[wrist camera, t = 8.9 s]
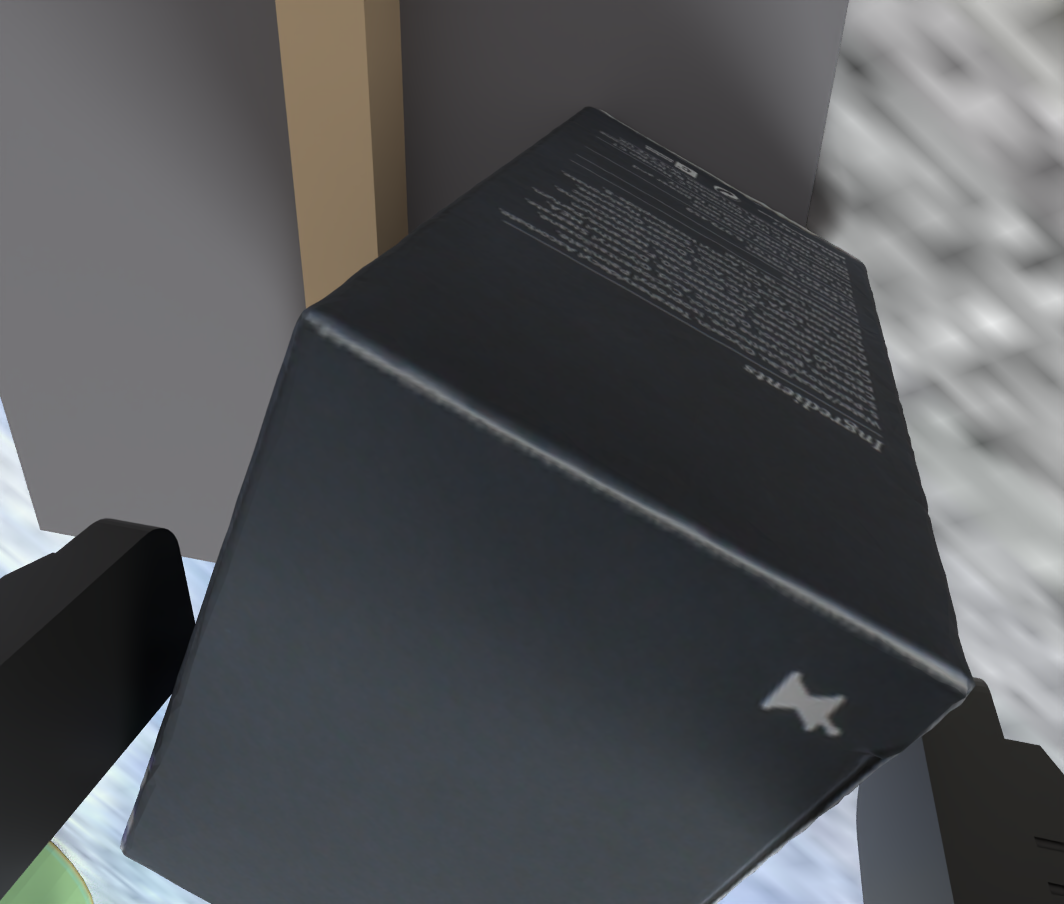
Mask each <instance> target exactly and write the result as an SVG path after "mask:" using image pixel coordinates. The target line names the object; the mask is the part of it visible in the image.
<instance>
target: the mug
mask: <svg viewBox="0 0 1064 904" xmlns="http://www.w3.org/2000/svg"><path fill="white" fill-rule="evenodd" d="M0 904H93V900H92V897H91V894H90V892H89V890H88V888H87V886H86V884H85V882H84V880H83V879H82V877H81V876H80V874H79V873H78V872H77V870H76V869H75V867H74V866H73V865H72V863H71V862H70V861H69V860H68V859H67V858H66V857H65V855H64V854H63V853H62V852H61V851H60V850H59V849H58V848H57V847H56V846H55V845H54V844H53V843H52V842H51V841H49V843H48V844H47V845H46V846H45V847H44V849H43V850H42V851H41V852H40V853H39V855H38V856H37V857H36V858H35V859H34V861H33V862H32V863H31V864H30V866H29V867H28V868H27V869H26V870H25V872H24V873H23V874H22V875H21V876H20V878H19V879H18V880H17V881H16V882H15V884H14V885H13V886H12V887H11V888H10V890H9V891H8V892H7V893H6V894H5V896H4V897H3V898H2V899H1V901H0Z"/></svg>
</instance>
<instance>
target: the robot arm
mask: <svg viewBox="0 0 1064 904" xmlns="http://www.w3.org/2000/svg"><path fill="white" fill-rule="evenodd" d="M194 627H195V620H194V615H193V610H192V605H191V600H190V596H189V591H188V586H187V581H186V576H185V571H184V566H183V562H182V557H181V552H180V547H179V544H178V541H177V538H176V536H175V535H174V534H173V533H172V532H171V531H170V530H168V529H165V528H161V527H155V526H150V525H144V524H139V523H133V522H128V521H122V520H117V519H111V518H104V519H100V520H98V521H96V522H94V523H93V524H91V525H90V526H88V527H87V528H86V529H85V530H84V531H82V532H81V533H80V534H79V535H77V536H76V537H75V538H74V539H72V540H71V541H70V542H69V543H68V544H66V545H65V546H64V547H63V548H61V549H60V550H59V551H58V552H56V553H51V554H49V555H47V556H44V557H42V558H40V559H38V560H36V561H34V562H32V563H30V564H28V565H26V566H24V567H22V568H19V569H17V570H15V571H13V572H11V573H9V574H7V575H5V576H3V577H2V578H1V579H0V901H1V899H2V898H3V897H4V896H5V894H6V893H7V892H8V891H9V890H10V888H11V887H12V886H13V885H14V884H15V882H16V881H17V880H18V879H19V878H20V876H21V875H22V874H23V873H24V872H25V870H26V869H27V868H28V867H29V866H30V864H31V863H32V862H33V861H34V859H35V858H36V857H37V856H38V855H39V853H40V852H41V851H42V850H43V849H44V847H45V846H46V845H47V844H48V843H49V841H50V840H51V839H52V838H53V837H54V835H55V834H56V833H57V832H58V831H59V829H60V828H61V827H62V826H63V825H64V823H65V822H66V821H67V820H68V818H69V817H70V816H71V815H72V814H73V812H74V811H75V810H76V809H77V808H78V806H79V805H80V804H81V803H82V802H83V800H84V799H85V798H86V797H87V796H88V794H89V793H90V792H91V791H92V790H93V788H94V787H95V786H96V785H97V784H98V782H99V781H100V780H101V779H102V777H103V776H104V775H105V774H106V773H107V771H108V770H109V769H110V768H111V767H112V765H113V764H114V763H115V762H116V761H117V759H118V758H119V757H120V756H121V755H122V753H123V752H124V751H125V750H126V749H127V747H128V746H129V745H130V744H131V743H132V741H133V740H134V739H135V738H136V736H137V735H138V734H139V733H140V732H141V730H142V729H143V728H144V727H145V726H146V724H147V723H148V722H149V721H150V720H151V718H152V717H153V716H154V715H155V714H156V712H157V711H158V710H159V709H160V708H161V706H162V705H163V704H164V703H165V702H166V700H167V699H168V698H169V697H170V695H171V694H172V692H173V689H174V686H175V683H176V679H177V676H178V673H179V671H180V668H181V665H182V662H183V659H184V656H185V654H186V651H187V648H188V644H189V641H190V639H191V636H192V633H193V630H194ZM973 680H974V682H975V685H976V686H975V687H974V688H973V690H972V691H971V692H970V693H969V695H968V696H967V697H966V699H965V700H964V701H963V703H962V704H961V705H960V706H958V707H957V708H955V709H953V710H952V711H950V712H949V713H948V714H947V715H946V716H945V717H944V718H943V719H942V720H941V721H940V722H939V723H938V724H937V725H936V726H935V727H934V728H933V729H931V730H930V731H928V732H927V733H925V734H924V735H923V736H921V737H920V738H918V739H917V740H916V741H915V742H913V743H912V744H911V745H910V746H909V747H907V748H906V749H905V750H904V751H902V752H901V753H900V754H898V755H897V756H895V757H894V758H892V759H891V760H890V761H888V762H887V763H885V764H884V765H882V766H881V767H879V768H878V769H877V770H876V771H875V772H873V773H872V774H871V775H870V776H869V777H867V778H866V779H865V780H864V781H863V782H861V783H860V784H859V790H858V798H857V815H856V825H857V840H858V851H859V861H860V871H861V881H862V891H863V901H864V904H1064V774H1063V773H1062V772H1061V771H1060V769H1059V768H1058V767H1057V766H1056V765H1055V763H1054V762H1053V761H1052V760H1051V758H1050V757H1049V756H1048V755H1047V754H1046V752H1045V751H1044V750H1043V749H1042V748H1041V746H1039V745H1034V744H1029V743H1024V742H1019V741H1013V740H1008V739H1004V736H1003V733H1002V729H1001V726H1000V723H999V719H998V716H997V713H996V709H995V706H994V703H993V699H992V696H991V693H990V690H989V688H988V686H987V684H986V683H985V682H984V681H983V680H982V679H980V678H974V677H973Z"/></svg>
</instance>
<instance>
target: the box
mask: <svg viewBox="0 0 1064 904" xmlns="http://www.w3.org/2000/svg"><path fill="white" fill-rule="evenodd" d="M975 686H976V685H975V682H974V680H973V677H972V675H971V672H970V669H969V667H968V664H967V662H966V659H965V656H964V653H963V649H962V646H961V643H960V639H959V636H958V628H957V621H956V615H955V612H954V608H953V604H952V600H951V596H950V592H949V588H948V583H947V578H946V574H945V571H944V569H943V566H942V563H941V559H940V556H939V552H938V549H937V545H936V542H935V538H934V534H933V530H932V524H931V520H930V517H929V515H928V505H927V500H926V496H925V494H924V491H923V488H922V486H921V480H920V476H919V472H918V469H917V466H916V462H915V456H914V451H913V449H912V446H911V440H910V436H909V434H908V430H907V425H906V421H905V418H904V415H903V408H902V405H901V403H900V401H899V395H898V391H897V388H896V384H895V380H894V376H893V372H892V368H891V363H890V360H889V357H888V352H887V347H886V345H885V340H884V337H883V333H882V329H881V326H880V322H879V318H878V315H877V312H876V306H875V302H874V298H873V293H872V290H871V287H870V284H869V280H868V275H867V270H866V267H865V265H864V264H863V263H862V262H861V261H860V260H859V259H857V258H855V257H854V256H852V255H850V254H849V253H847V252H845V251H844V250H842V249H840V248H838V247H837V246H835V245H833V244H831V243H829V242H828V241H826V240H824V239H823V238H821V237H819V236H818V235H816V234H814V233H812V232H810V231H809V230H807V229H806V228H804V227H803V226H801V225H799V224H798V223H796V222H794V221H792V220H790V219H788V218H787V217H785V216H784V215H783V214H781V213H779V212H777V211H774V210H772V209H771V208H769V207H768V206H767V205H765V204H764V203H762V202H760V201H758V200H756V199H754V198H752V197H750V196H748V195H746V194H744V193H742V192H740V191H739V190H737V189H735V188H733V187H732V186H730V185H728V184H727V183H725V182H724V181H722V180H720V179H719V178H717V177H715V176H714V175H712V174H710V173H709V172H707V171H705V170H704V169H702V168H700V167H698V166H696V165H694V164H693V163H691V162H689V161H687V160H686V159H684V158H682V157H681V156H679V155H677V154H675V153H673V152H672V151H670V150H668V149H666V148H664V147H663V146H661V145H659V144H658V143H656V142H654V141H653V140H651V139H649V138H647V137H645V136H644V135H642V134H640V133H638V132H637V131H635V130H634V129H632V128H630V127H628V126H627V125H625V124H623V123H621V122H620V121H618V120H616V119H615V118H613V117H612V116H611V115H609V114H608V113H606V112H604V111H602V110H599V109H596V108H593V107H584V108H583V109H582V110H581V111H579V112H577V113H576V114H575V115H574V116H572V117H571V118H569V119H568V120H567V121H565V122H564V123H562V124H561V125H560V126H558V127H557V128H555V129H553V130H552V131H551V132H550V133H549V134H548V135H546V136H544V137H543V138H541V139H540V140H539V141H537V142H536V143H535V144H534V145H533V146H531V147H529V148H528V149H526V150H525V151H524V152H522V153H521V154H519V155H518V156H517V157H515V158H514V159H513V160H511V161H510V162H508V163H507V164H506V165H504V166H503V167H501V168H500V169H498V170H497V171H495V172H494V173H493V174H491V175H490V176H488V177H487V178H485V179H484V180H483V181H481V182H479V183H478V184H476V185H475V186H474V187H473V188H471V189H470V190H469V191H467V192H466V193H464V194H463V195H461V196H460V197H459V198H457V199H456V200H455V201H454V202H452V203H451V204H449V205H448V206H447V207H445V208H443V209H442V210H440V211H439V212H437V213H436V214H435V215H434V216H432V217H431V218H430V219H428V220H426V221H425V222H423V223H422V224H420V225H419V226H418V227H417V228H416V229H415V230H413V231H412V232H411V233H410V234H408V235H407V236H406V237H404V238H403V239H402V240H401V241H400V242H399V243H398V244H397V245H395V246H394V247H392V248H391V249H389V250H388V251H386V252H385V253H383V254H382V255H380V256H379V257H378V258H376V259H375V260H373V261H372V262H370V263H369V264H367V265H366V266H364V267H362V268H361V269H360V270H359V271H357V272H356V273H355V274H354V275H352V276H351V277H350V278H349V279H348V280H347V281H345V282H344V283H343V284H342V285H341V286H339V287H338V288H337V289H335V290H334V291H333V292H331V293H330V294H329V295H327V296H326V297H324V298H323V299H322V300H320V301H318V302H316V303H315V304H313V305H311V306H309V307H308V308H306V309H305V310H303V312H302V313H301V315H300V317H299V318H298V320H297V322H296V325H295V327H294V330H293V333H292V336H291V339H290V342H289V345H288V348H287V351H286V354H285V357H284V360H283V363H282V366H281V368H280V371H279V374H278V377H277V380H276V383H275V386H274V389H273V392H272V395H271V398H270V401H269V404H268V408H267V411H266V414H265V417H264V420H263V423H262V426H261V430H260V433H259V436H258V439H257V442H256V445H255V448H254V452H253V455H252V458H251V461H250V463H249V466H248V469H247V472H246V475H245V478H244V481H243V484H242V487H241V489H240V492H239V495H238V498H237V501H236V504H235V508H234V511H233V514H232V518H231V521H230V525H229V528H228V530H227V533H226V536H225V538H224V541H223V544H222V547H221V549H220V552H219V555H218V558H217V561H216V564H215V567H214V570H213V573H212V576H211V579H210V582H209V585H208V588H207V591H206V594H205V597H204V600H203V603H202V606H201V609H200V612H199V615H198V618H197V621H196V624H195V627H194V630H193V633H192V636H191V639H190V641H189V644H188V648H187V651H186V654H185V656H184V659H183V662H182V665H181V668H180V671H179V673H178V676H177V679H176V683H175V686H174V689H173V692H172V695H171V698H170V701H169V704H168V707H167V710H166V713H165V716H164V718H163V721H162V724H161V727H160V730H159V733H158V736H157V739H156V742H155V746H154V749H153V752H152V755H151V758H150V760H149V763H148V766H147V769H146V772H145V775H144V778H143V781H142V783H141V786H140V791H139V794H138V797H137V799H136V802H135V805H134V808H133V810H132V813H131V815H130V818H129V820H128V823H127V826H126V829H125V831H124V834H123V837H122V840H121V846H120V848H121V850H122V852H123V854H124V855H125V856H127V857H128V858H130V859H132V860H134V861H136V862H138V863H139V864H141V865H143V866H145V867H147V868H149V869H150V870H152V871H154V872H156V873H157V874H159V875H161V876H163V877H164V878H166V879H168V880H169V881H171V882H173V883H175V884H176V885H178V886H180V887H181V888H183V889H185V890H187V891H189V892H191V893H193V894H194V895H196V896H198V897H200V898H202V899H204V900H205V901H207V902H209V903H211V904H717V903H718V902H719V901H720V900H722V899H723V898H724V897H725V896H726V895H727V894H728V893H729V892H730V891H731V890H733V889H734V888H735V887H736V886H737V885H738V884H739V883H740V882H742V881H743V880H744V879H745V878H746V877H748V876H749V875H751V874H752V873H754V872H755V871H756V870H757V869H758V868H759V867H760V866H761V865H762V864H763V863H764V862H765V861H766V860H767V859H768V858H769V857H771V856H773V855H774V854H776V853H778V852H779V851H780V850H781V848H782V847H783V846H784V845H785V844H786V843H787V842H788V841H790V840H791V839H793V838H794V837H796V836H797V835H799V834H800V833H801V832H803V831H804V830H806V829H807V828H808V827H809V826H810V825H811V824H812V823H813V822H814V821H815V820H816V819H817V818H818V817H819V816H821V815H822V814H823V813H825V812H826V811H828V810H829V809H831V808H832V807H834V806H835V805H837V804H838V803H839V802H840V801H841V800H842V798H843V797H844V796H846V795H848V794H850V793H851V792H852V791H853V790H854V789H855V788H856V787H857V786H858V785H859V784H860V783H861V782H863V781H864V780H865V779H866V778H867V777H869V776H870V775H871V774H872V773H873V772H875V771H876V770H877V769H878V768H879V767H881V766H882V765H884V764H885V763H887V762H888V761H890V760H891V759H892V758H894V757H895V756H897V755H898V754H900V753H901V752H902V751H904V750H905V749H906V748H907V747H909V746H910V745H911V744H912V743H913V742H915V741H916V740H917V739H918V738H920V737H921V736H923V735H924V734H925V733H927V732H928V731H930V730H931V729H933V728H934V727H935V726H936V725H937V724H938V723H939V722H940V721H941V720H942V719H943V718H944V717H945V716H946V715H947V714H948V713H949V712H950V711H952V710H953V709H955V708H957V707H958V706H960V705H961V704H962V703H963V701H964V700H965V699H966V697H967V696H968V695H969V693H970V692H971V691H972V690H973V688H974V687H975Z"/></svg>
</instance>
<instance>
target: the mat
mask: <svg viewBox="0 0 1064 904" xmlns="http://www.w3.org/2000/svg"><path fill="white" fill-rule="evenodd" d="M848 3H849V0H0V397H1V400H2V403H3V407H4V410H5V413H6V417H7V420H8V423H9V427H10V430H11V433H12V437H13V440H14V443H15V447H16V450H17V453H18V457H19V460H20V463H21V467H22V470H23V473H24V477H25V480H26V483H27V487H28V490H29V493H30V497H31V500H32V503H33V507H34V510H35V513H36V517H37V520H38V523H39V527H40V530H44V531H49V532H55V533H60V534H65V535H71V536H77V535H79V534H80V533H81V532H82V531H84V530H85V529H86V528H87V527H88V526H90V525H91V524H93V523H94V522H96V521H98V520H100V519H104V518H111V519H117V520H122V521H128V522H133V523H139V524H144V525H150V526H155V527H161V528H165V529H168V530H170V531H171V532H172V533H173V534H174V535H175V536H176V538H177V541H178V544H179V547H180V552H181V556H183V557H188V558H193V559H199V560H204V561H209V562H215V563H216V561H217V558H218V555H219V552H220V549H221V547H222V544H223V541H224V538H225V536H226V533H227V530H228V528H229V525H230V521H231V518H232V514H233V511H234V508H235V504H236V501H237V498H238V495H239V492H240V489H241V487H242V484H243V481H244V478H245V475H246V472H247V469H248V466H249V463H250V461H251V458H252V455H253V452H254V448H255V445H256V442H257V439H258V436H259V433H260V430H261V426H262V423H263V420H264V417H265V414H266V411H267V408H268V404H269V401H270V398H271V395H272V392H273V389H274V386H275V383H276V380H277V377H278V374H279V371H280V368H281V366H282V363H283V360H284V357H285V354H286V351H287V348H288V345H289V342H290V339H291V336H292V333H293V330H294V327H295V325H296V322H297V320H298V318H299V317H300V315H301V313H302V312H303V310H305V309H306V308H308V307H309V306H311V305H313V304H315V303H316V302H318V301H320V300H322V299H323V298H324V297H326V296H327V295H329V294H330V293H331V292H333V291H334V290H335V289H337V288H338V287H339V286H341V285H342V284H343V283H344V282H345V281H347V280H348V279H349V278H350V277H351V276H352V275H354V274H355V273H356V272H357V271H359V270H360V269H361V268H362V267H364V266H366V265H367V264H369V263H370V262H372V261H373V260H375V259H376V258H378V257H379V256H380V255H382V254H383V253H385V252H386V251H388V250H389V249H391V248H392V247H394V246H395V245H397V244H398V243H399V242H400V241H401V240H402V239H403V238H404V237H406V236H407V235H408V234H410V233H411V232H412V231H413V230H415V229H416V228H417V227H418V226H419V225H420V224H422V223H423V222H425V221H426V220H428V219H430V218H431V217H432V216H434V215H435V214H436V213H437V212H439V211H440V210H442V209H443V208H445V207H447V206H448V205H449V204H451V203H452V202H454V201H455V200H456V199H457V198H459V197H460V196H461V195H463V194H464V193H466V192H467V191H469V190H470V189H471V188H473V187H474V186H475V185H476V184H478V183H479V182H481V181H483V180H484V179H485V178H487V177H488V176H490V175H491V174H493V173H494V172H495V171H497V170H498V169H500V168H501V167H503V166H504V165H506V164H507V163H508V162H510V161H511V160H513V159H514V158H515V157H517V156H518V155H519V154H521V153H522V152H524V151H525V150H526V149H528V148H529V147H531V146H533V145H534V144H535V143H536V142H537V141H539V140H540V139H541V138H543V137H544V136H546V135H548V134H549V133H550V132H551V131H552V130H553V129H555V128H557V127H558V126H560V125H561V124H562V123H564V122H565V121H567V120H568V119H569V118H571V117H572V116H574V115H575V114H576V113H577V112H579V111H581V110H582V109H583V108H584V107H593V108H596V109H599V110H602V111H604V112H606V113H608V114H609V115H611V116H612V117H613V118H615V119H616V120H618V121H620V122H621V123H623V124H625V125H627V126H628V127H630V128H632V129H634V130H635V131H637V132H638V133H640V134H642V135H644V136H645V137H647V138H649V139H651V140H653V141H654V142H656V143H658V144H659V145H661V146H663V147H664V148H666V149H668V150H670V151H672V152H673V153H675V154H677V155H679V156H681V157H682V158H684V159H686V160H687V161H689V162H691V163H693V164H694V165H696V166H698V167H700V168H702V169H704V170H705V171H707V172H709V173H710V174H712V175H714V176H715V177H717V178H719V179H720V180H722V181H724V182H725V183H727V184H728V185H730V186H732V187H733V188H735V189H737V190H739V191H740V192H742V193H744V194H746V195H748V196H750V197H752V198H754V199H756V200H758V201H760V202H762V203H764V204H765V205H767V206H768V207H769V208H771V209H772V210H774V211H777V212H779V213H781V214H783V215H784V216H785V217H787V218H788V219H790V220H792V221H794V222H796V223H798V224H799V225H801V226H803V227H804V228H806V223H807V218H808V213H809V207H810V202H811V197H812V192H813V186H814V181H815V176H816V171H817V165H818V160H819V155H820V150H821V144H822V139H823V134H824V129H825V123H826V118H827V113H828V108H829V102H830V97H831V92H832V87H833V81H834V76H835V71H836V66H837V60H838V55H839V50H840V45H841V39H842V34H843V29H844V24H845V18H846V13H847V8H848Z"/></svg>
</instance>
